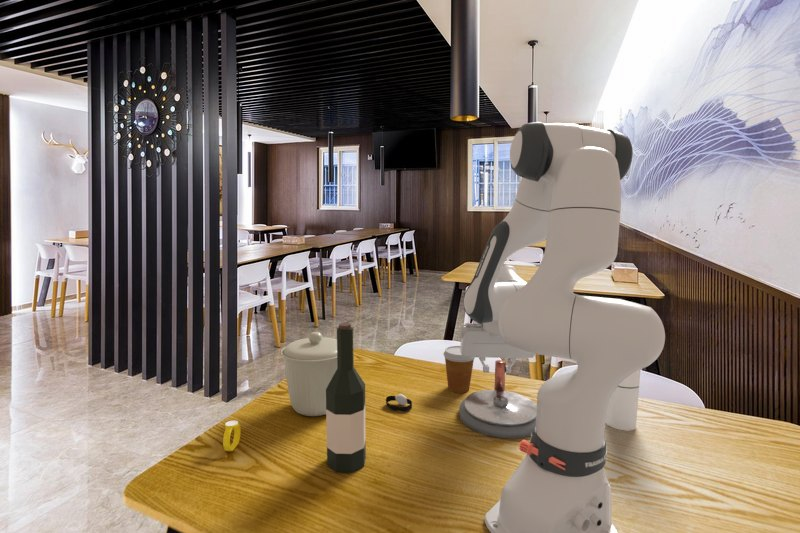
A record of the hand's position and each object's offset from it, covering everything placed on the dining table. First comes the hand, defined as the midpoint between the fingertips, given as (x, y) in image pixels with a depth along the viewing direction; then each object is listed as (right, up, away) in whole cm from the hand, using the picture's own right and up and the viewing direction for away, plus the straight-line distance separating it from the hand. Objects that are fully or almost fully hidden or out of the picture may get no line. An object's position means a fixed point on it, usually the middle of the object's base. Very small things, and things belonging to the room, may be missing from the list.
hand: (496, 372), depth 118 cm
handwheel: (-1, -8, -7) cm, 10 cm away
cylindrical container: (+29, -11, -10) cm, 32 cm away
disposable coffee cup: (-9, -8, +11) cm, 16 cm away
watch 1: (-64, -12, -22) cm, 69 cm away
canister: (-49, -9, -2) cm, 50 cm away
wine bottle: (-38, -13, -27) cm, 48 cm away
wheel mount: (-1, -10, -7) cm, 12 cm away
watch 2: (-27, -10, -2) cm, 29 cm away
